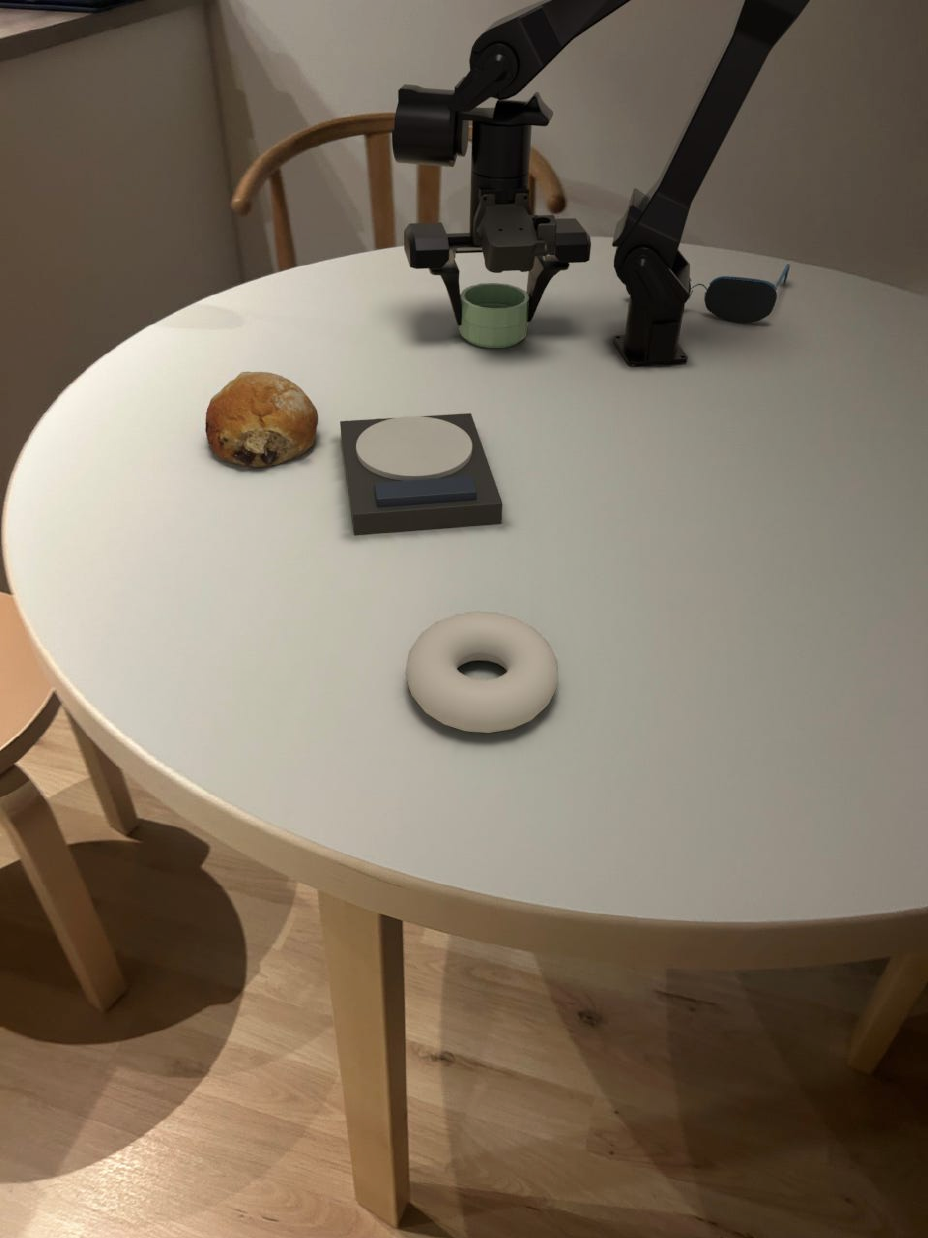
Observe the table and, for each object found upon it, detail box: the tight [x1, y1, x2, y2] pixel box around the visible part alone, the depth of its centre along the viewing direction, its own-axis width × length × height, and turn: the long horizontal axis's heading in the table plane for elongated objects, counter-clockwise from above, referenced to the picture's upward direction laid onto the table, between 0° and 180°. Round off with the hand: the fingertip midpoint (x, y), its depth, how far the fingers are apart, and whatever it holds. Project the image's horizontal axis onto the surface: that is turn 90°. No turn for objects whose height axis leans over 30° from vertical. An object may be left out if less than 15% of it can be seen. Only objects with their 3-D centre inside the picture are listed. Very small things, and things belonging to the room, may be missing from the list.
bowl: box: [458, 282, 529, 349], centre depth 104 cm, size 7×7×4 cm
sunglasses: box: [625, 263, 791, 324], centre depth 115 cm, size 17×15×5 cm
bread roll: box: [204, 371, 319, 468], centre depth 86 cm, size 10×10×8 cm
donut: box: [404, 610, 559, 734], centre depth 62 cm, size 10×4×10 cm
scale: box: [339, 412, 503, 536], centre depth 82 cm, size 15×12×3 cm
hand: (493, 322), depth 104 cm, fingers closed on bowl, 7 cm apart
